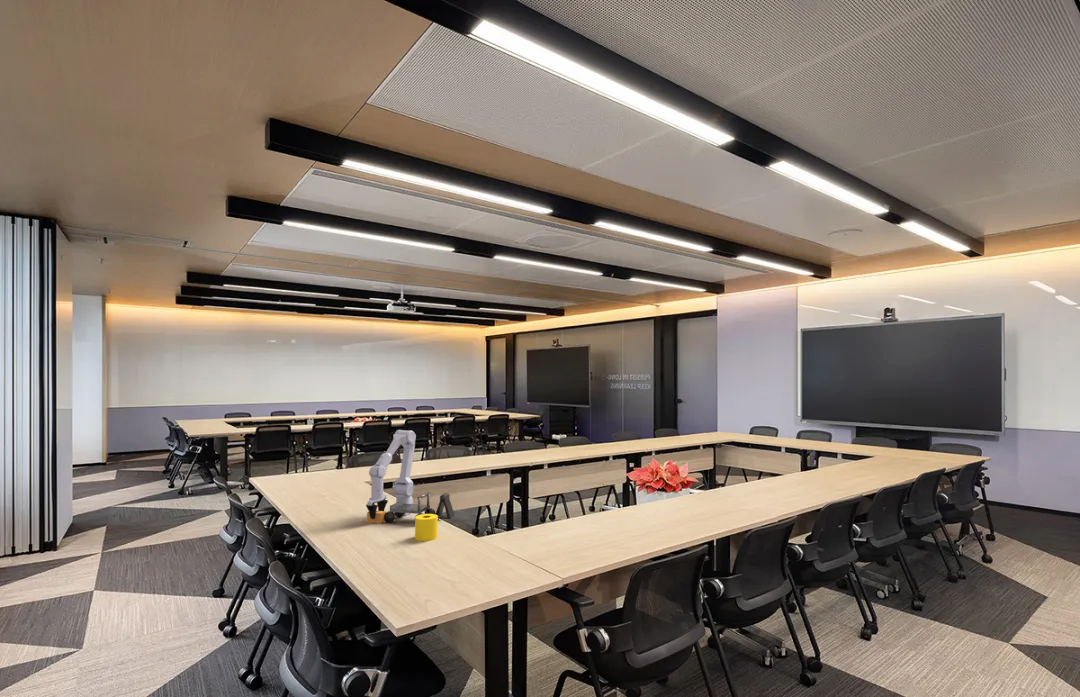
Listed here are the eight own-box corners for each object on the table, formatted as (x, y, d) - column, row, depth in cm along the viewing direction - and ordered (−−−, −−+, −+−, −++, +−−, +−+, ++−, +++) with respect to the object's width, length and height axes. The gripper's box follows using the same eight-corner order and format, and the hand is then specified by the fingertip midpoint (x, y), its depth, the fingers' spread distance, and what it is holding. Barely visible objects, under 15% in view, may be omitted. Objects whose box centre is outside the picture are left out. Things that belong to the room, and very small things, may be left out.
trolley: (395, 516, 283) (396, 490, 284) (435, 519, 278) (435, 492, 278) (383, 522, 272) (384, 495, 272) (424, 525, 266) (425, 497, 267)
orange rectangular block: (371, 520, 277) (371, 510, 277) (385, 521, 275) (386, 511, 275) (366, 522, 272) (367, 512, 273) (381, 523, 270) (381, 513, 271)
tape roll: (417, 542, 240) (417, 520, 240) (413, 536, 249) (413, 515, 249) (439, 539, 244) (440, 518, 244) (434, 533, 253) (434, 513, 253)
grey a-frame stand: (454, 516, 284) (455, 493, 284) (450, 519, 278) (450, 495, 278) (438, 515, 286) (438, 492, 286) (434, 518, 280) (434, 494, 280)
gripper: (378, 486, 282) (377, 512, 282) (362, 492, 268) (361, 519, 268) (390, 486, 281) (389, 513, 280) (374, 492, 267) (374, 520, 266)
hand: (376, 516), depth 274 cm, fingers open, 7 cm apart
